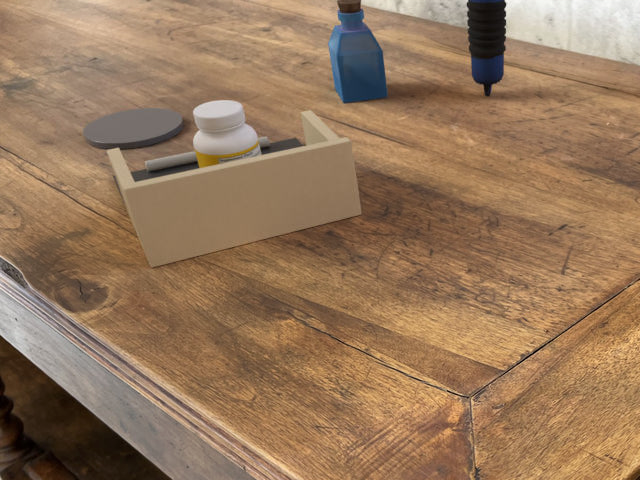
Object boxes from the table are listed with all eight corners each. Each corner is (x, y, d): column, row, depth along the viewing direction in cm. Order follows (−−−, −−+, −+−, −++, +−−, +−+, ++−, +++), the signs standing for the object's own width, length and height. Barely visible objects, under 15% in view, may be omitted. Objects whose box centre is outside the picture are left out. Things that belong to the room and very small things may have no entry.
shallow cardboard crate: (151, 268, 75) (124, 189, 70) (115, 182, 90) (90, 112, 85) (362, 214, 83) (351, 140, 78) (297, 143, 98) (284, 77, 93)
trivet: (91, 156, 96) (89, 150, 95) (79, 124, 104) (77, 118, 103) (193, 136, 100) (191, 130, 100) (173, 107, 108) (172, 101, 108)
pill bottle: (208, 206, 85) (180, 103, 78) (266, 194, 87) (244, 93, 80) (218, 231, 81) (188, 124, 74) (279, 218, 83) (256, 113, 76)
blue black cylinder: (505, 82, 115) (502, -77, 102) (525, 99, 109) (525, -66, 96) (452, 89, 113) (442, -72, 100) (470, 108, 107) (462, -60, 94)
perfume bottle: (335, 88, 113) (321, -3, 106) (377, 83, 115) (367, -7, 108) (343, 103, 109) (329, 9, 101) (387, 97, 111) (377, 4, 103)
